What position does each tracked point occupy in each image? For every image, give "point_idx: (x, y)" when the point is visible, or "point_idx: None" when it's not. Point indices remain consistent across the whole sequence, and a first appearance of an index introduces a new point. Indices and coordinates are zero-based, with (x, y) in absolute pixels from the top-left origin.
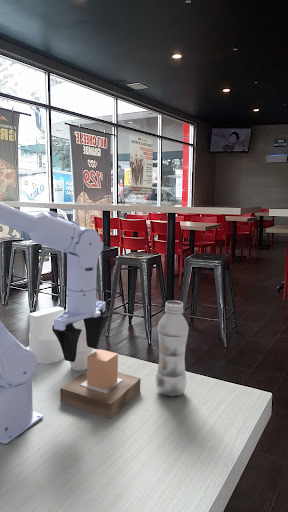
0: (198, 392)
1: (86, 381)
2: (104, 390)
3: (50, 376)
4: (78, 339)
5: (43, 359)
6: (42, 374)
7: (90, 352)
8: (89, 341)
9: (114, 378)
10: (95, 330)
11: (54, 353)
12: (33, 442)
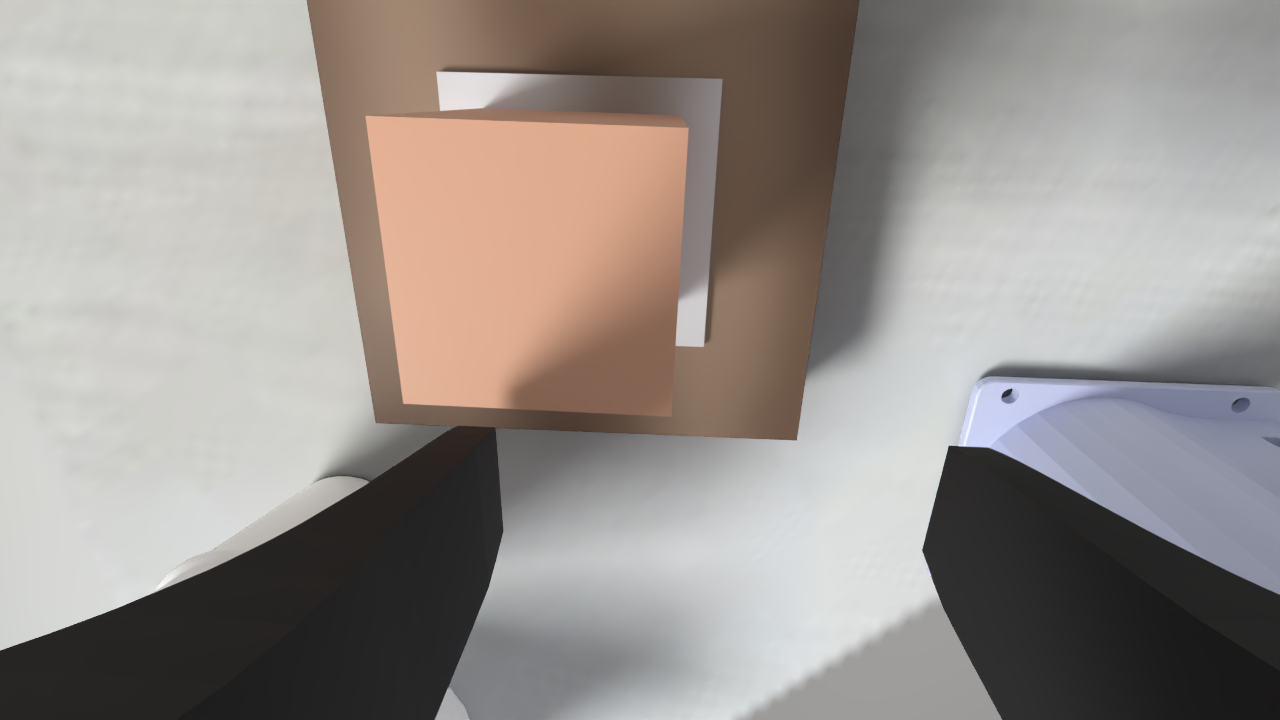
0: None
1: None
2: (694, 118)
3: (555, 592)
4: None
5: (447, 717)
6: (560, 635)
7: (266, 535)
8: (477, 559)
9: (525, 110)
10: (375, 632)
11: None
12: (1223, 276)
